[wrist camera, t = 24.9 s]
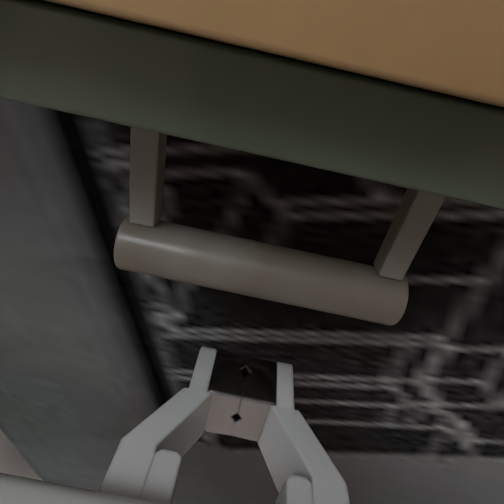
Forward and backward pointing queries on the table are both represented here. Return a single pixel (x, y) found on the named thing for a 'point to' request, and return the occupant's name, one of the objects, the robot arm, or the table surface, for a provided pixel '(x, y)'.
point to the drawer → (255, 146)
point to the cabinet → (349, 35)
